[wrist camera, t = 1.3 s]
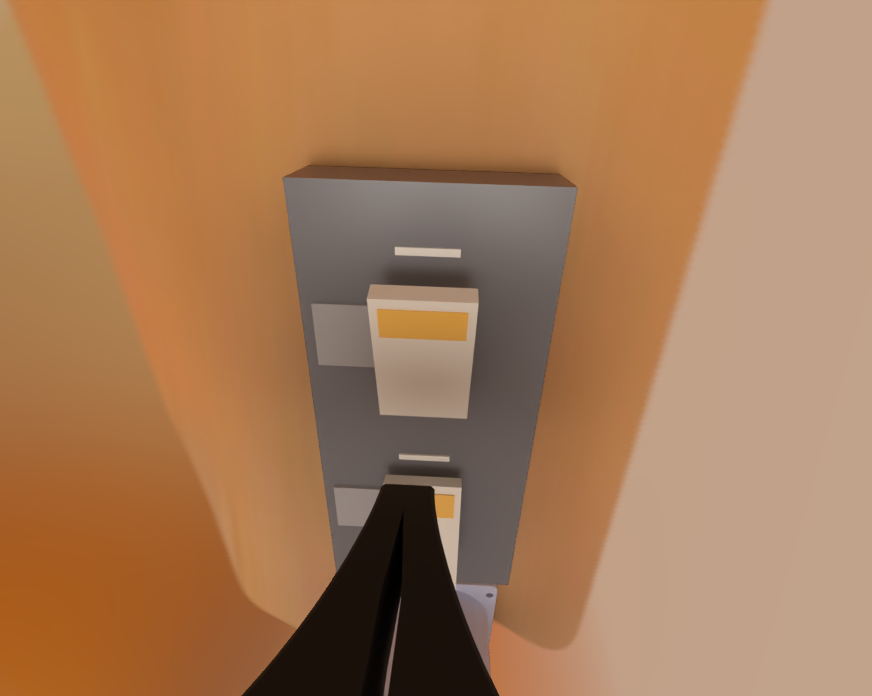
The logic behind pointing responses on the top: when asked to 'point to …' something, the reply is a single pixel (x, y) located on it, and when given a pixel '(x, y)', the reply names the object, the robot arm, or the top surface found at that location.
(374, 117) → the top surface
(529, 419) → the switch strip
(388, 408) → the plate
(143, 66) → the top surface
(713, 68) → the top surface
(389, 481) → the block
